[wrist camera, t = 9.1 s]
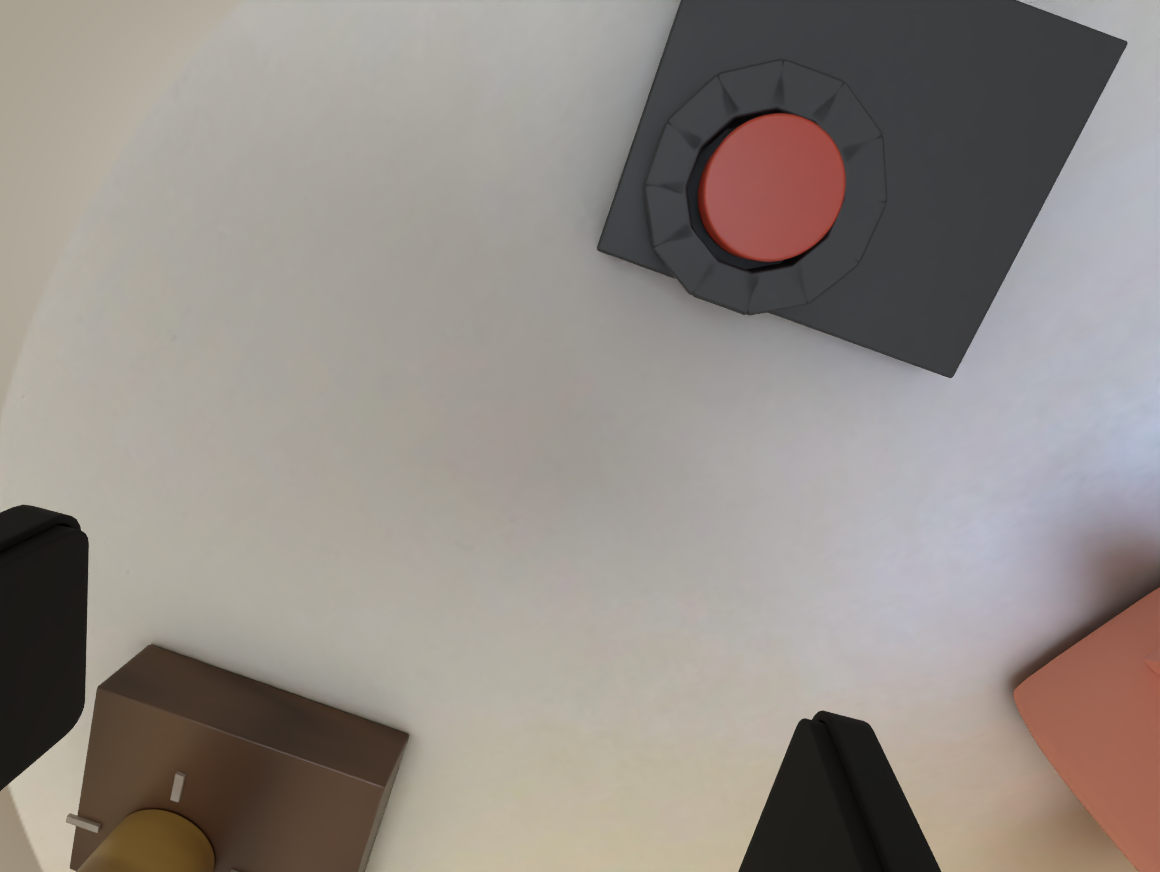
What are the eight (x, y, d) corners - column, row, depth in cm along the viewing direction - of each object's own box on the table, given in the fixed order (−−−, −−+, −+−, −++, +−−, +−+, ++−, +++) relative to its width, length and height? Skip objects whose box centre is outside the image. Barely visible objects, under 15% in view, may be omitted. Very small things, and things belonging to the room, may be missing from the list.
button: (678, 235, 19) (682, 234, 18) (726, 105, 18) (736, 91, 17) (795, 277, 19) (810, 280, 18) (849, 151, 18) (871, 141, 17)
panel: (109, 831, 32) (55, 891, 29) (142, 641, 29) (85, 686, 26) (350, 913, 33) (321, 982, 30) (410, 733, 29) (383, 790, 26)
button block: (597, 256, 23) (589, 258, 19) (710, -75, 20) (727, -150, 16) (921, 373, 23) (977, 399, 19) (1079, 62, 20) (1181, 19, 17)
